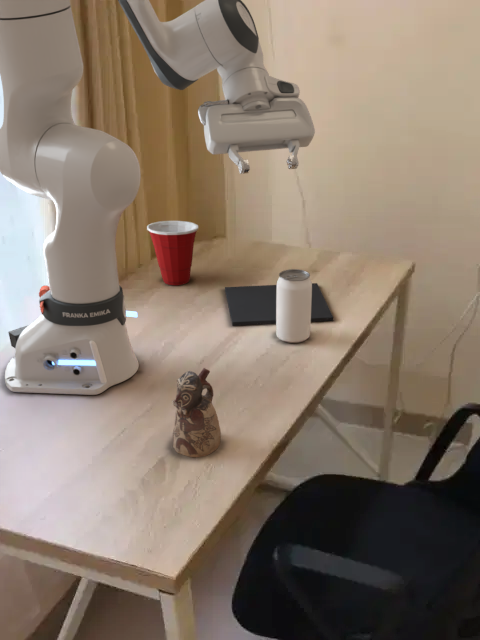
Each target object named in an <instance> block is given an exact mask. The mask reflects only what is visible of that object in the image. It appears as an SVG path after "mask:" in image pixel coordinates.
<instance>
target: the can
mask: <svg viewBox="0 0 480 640" xmlns="http://www.w3.org/2000/svg"><path fill="white" fill-rule="evenodd" d="M312 283H313V282H312V279H311V274H310V273H309V271H307V270H304V269H298V268H290V269H284V270H282V271H280V272H279V273H278V279H277V282H276V285H277V289H276V324H275V330H276V331H275V334H276V335H275V336H276V337H277V339H279V340H280V341H282V342H284V343H289V344H299V343H303V342H305V341H307V340H308V339H309V338H310V337H311V327H312V326H311V324H312V322H311V300H312Z"/></svg>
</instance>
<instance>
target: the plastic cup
mask: <svg viewBox="0 0 480 640" xmlns="http://www.w3.org/2000/svg"><path fill="white" fill-rule="evenodd" d="M198 230H199V225H198V224H196V223H195V222H191V221H184V220H161V221H156V222H151V223H150V224H148V225H147V226H146V231H148V233H149V236H150V238H151V242H152V245H153V248H154V252H155V257H156V260H157V264H158V267H159V271H160V276H161V279H162V280H163V283H164V284H165V285H170V286H183V285H185V284H188V283H189V282H190V279H191V271H192V266H193V256H194V255H193V254H194V245H195V238H196V235H197V231H198Z"/></svg>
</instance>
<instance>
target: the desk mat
mask: <svg viewBox="0 0 480 640" xmlns="http://www.w3.org/2000/svg"><path fill="white" fill-rule="evenodd" d="M276 289H277V284H270V285H269V284H267V285H266V284H265V285H263V284H262V285H243V286H242V285H241V286H224V293H225V297H226V301H227V307H228V312H229V317H230V321H231V325H232V326H234V327H235V326H236V327H237V326H254V325H255V326H258V325H276ZM333 321H334V316H333V313H332V311H331V309H330V307H329V305H328V303H327V301H326V299H325V297H324V295H323V293H322V290H321V288H320V286H319V284H318V283H317V282H312V300H311V323H321V322H333Z"/></svg>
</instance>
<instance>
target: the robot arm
mask: <svg viewBox="0 0 480 640" xmlns="http://www.w3.org/2000/svg"><path fill="white" fill-rule="evenodd" d="M117 2H118V3H119V6H120V7H121V9H122V11H123V13H124V14H125V16H126V18H127V20H128V22H129V24H130V25H131V27H132V29H133V31H134V32H135V34H136V36H137V38H138V40H139V42H140V44H141V45H142V47H143V49H144V51H145V53H146V55H147V57H148V59H149V62H150V64H151V66H152V69H153V71H154V73H155V74H156V76H157V77H158V79H159V81H160V82H161V83H162V84H163V85H165V86H167V87H168V88H172V89H175V90H179V91H184V90H185V89H187V88H188V87H190V86H191V85H192V84H194V83H195V82H197V81H198V80H199V79H201V78H202V77H204V76H206V75H207V74H209V73H211V72H213V71H215V70H217V73H218V75H219V77H220V78H221V83H222V84H221V88H222V92H223V97H224V99H220V100H214V101H212V100H207V101H204V102H203V103H202V104H200V105H199V106H198V109H197V115H198V118H199V122H200V123H201V124H202V125H203V133H204V141H205V142H204V143H205V146H206V150H207V151H208V152H209V153H210V154H211V155H224V154H225V155H226V154H227V155H228V158H229V159H230V160H231V161H232V162H233V164H234V165H236V167H238V168H237V169H238V173H239V174H240V175H243V174H249V172H250V170H251V168H250V164H249V160H248V159H246V158H245V159H244V158H243V157H242V155H240V153H250V152H259V151H262V152H263V151H272V150H284V149H288V152H289V153H290V154H291V153H292V154H291V155H288V158H287V159H286V165H287V168H288V169H289V170H296V169H298V167H299V163H300V162H299V159H298V154H299V151H300V148H306V147H309V145H310V144H311V142H312V141H313V139H314V136H315V133H316V131H315V130H316V129H315V125H314V122H313V120H312V116H311V113H310V111H309V108H308V106H307V104H306V102H304V101H303V99H301V98H299V97H300V93H301V92H300V91H301V90H300V87H299V85H298V84H297V83H294V82H289V81H286V80H282V79H279V78H276V77H274V76H271V75H270V74H269V71H268V69H267V68H266V67H265V64H264V53H263V49H262V46H261V42H260V38H259V34H258V30H257V27H256V23H255V21H254V18H253V16H252V14H251V12H250V9H249V8H248V7H247V5H246V4H245V3H244V2H243V1H242V0H203V1H201V2H199V3H198V4H197V5H195V6H194V7H192V8H190V9H189V10H187V11H186V12H184V13H182V14H180V15H179V16H177V17H176V18H174V19H172V20H169V21H160V19H159V17H158V15H157V13H156V11H155V9H154V7H153V5H152V3H151V1H150V0H117ZM83 74H84V62H83V57H82V53H81V48H80V43H79V39H78V33H77V29H76V25H75V20H74V15H73V11H72V6H71V1H70V0H0V79H1V86H2V98H3V120H2V124H1V127H0V174H1V175H2V176H3V177H4V178H5V179H6V180H7V181H8V182H10V183H11V184H13V185H14V186H16V187H17V188H19V189H20V190H22V191H24V192H25V193H27V194H29V195H32V196H35V197H39V198H41V199H46V200H49V201H52V202H53V203H54V206H55V211H56V215H55V217H56V219H55V226H54V228H55V229H54V230H53V231H52V232H51V233H50V234H49V235H48V236H47V237H46V238H45V240H44V242H43V246H42V253H43V259H44V263H45V264H44V265H45V270H46V275H47V281H48V285H46V284H45V285H43V286H41V287H40V288H39V292H38V297H39V300H38V303H39V310H40V313H41V314H40V315H39V316H38V317H37V318H36V319H34V321H32V322H31V323H30V324H27V325H25V326H22V327H19V328H16V329H13V330H10V331H8V332H7V333H8V337H9V341H10V345H11V347H12V348H13V349H14V355H13V357H11V359H10V360H8V363H7V365H6V367H5V371H4V382H5V386H6V388H7V389H8V390H9V391H11V392H13V393H30V394H32V393H34V394H56V395H57V394H58V395H59V394H60V395H86V396H87V395H88V396H95V395H100V394H102V393H104V392H105V391H106V390H107V389H109V388H110V387H112V386H115V385H118V384H121V383H122V382H125V381H127V380H129V379H130V378H132V377H133V376H134V375H135V374H136V373H137V371H138V370H139V367H140V363H139V361H138V358H137V356H136V354H135V352H134V348H133V346H132V343H131V339H130V336H129V332H128V328H127V324H126V322H127V317H128V318H129V317H131V318H138V312H137V311H131V310H127V308H126V300H125V295H124V292H123V287H122V285H120V280H119V279H120V278H119V271H118V260H117V259H118V258H117V248H116V247H117V246H116V245H117V244H116V240H117V233H118V231H117V230H118V226H119V222H120V220H121V216H122V214H123V212H124V211H125V210H126V209H127V208H129V207H130V205H131V204H132V203H133V202H134V201H135V199H136V198H137V195H138V192H139V189H140V185H141V176H142V175H141V167H140V166H141V165H140V162H139V159H138V157H137V154H136V153H135V152H134V150H133V148H131V146H129V144H127V143H126V142H124V141H122V140H121V139H119V138H117V137H115V136H113V135H112V134H109V133H107V132H105V131H104V130H100V129H96V128H91V127H87V126H81V125H77V124H76V123H75V122H74V119H73V115H72V95H73V90H74V89H75V88H76V86H78V85H79V83H80V82H81V80H82V78H83V76H84V75H83Z"/></svg>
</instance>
